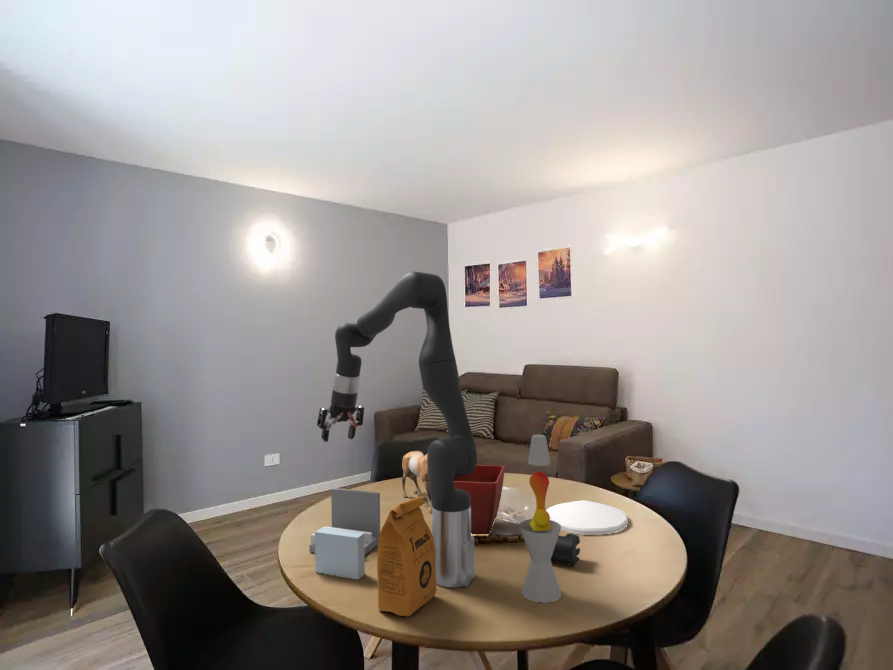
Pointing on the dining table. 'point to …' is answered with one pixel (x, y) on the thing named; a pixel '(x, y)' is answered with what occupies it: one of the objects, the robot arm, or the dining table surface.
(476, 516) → the plant pot
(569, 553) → the end cap
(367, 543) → the grey slotted stand
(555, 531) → the lava lamp
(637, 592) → the dining table surface
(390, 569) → the coffee package
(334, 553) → the door panel
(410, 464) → the horse figurine
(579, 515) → the decorative plate
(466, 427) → the robot arm
